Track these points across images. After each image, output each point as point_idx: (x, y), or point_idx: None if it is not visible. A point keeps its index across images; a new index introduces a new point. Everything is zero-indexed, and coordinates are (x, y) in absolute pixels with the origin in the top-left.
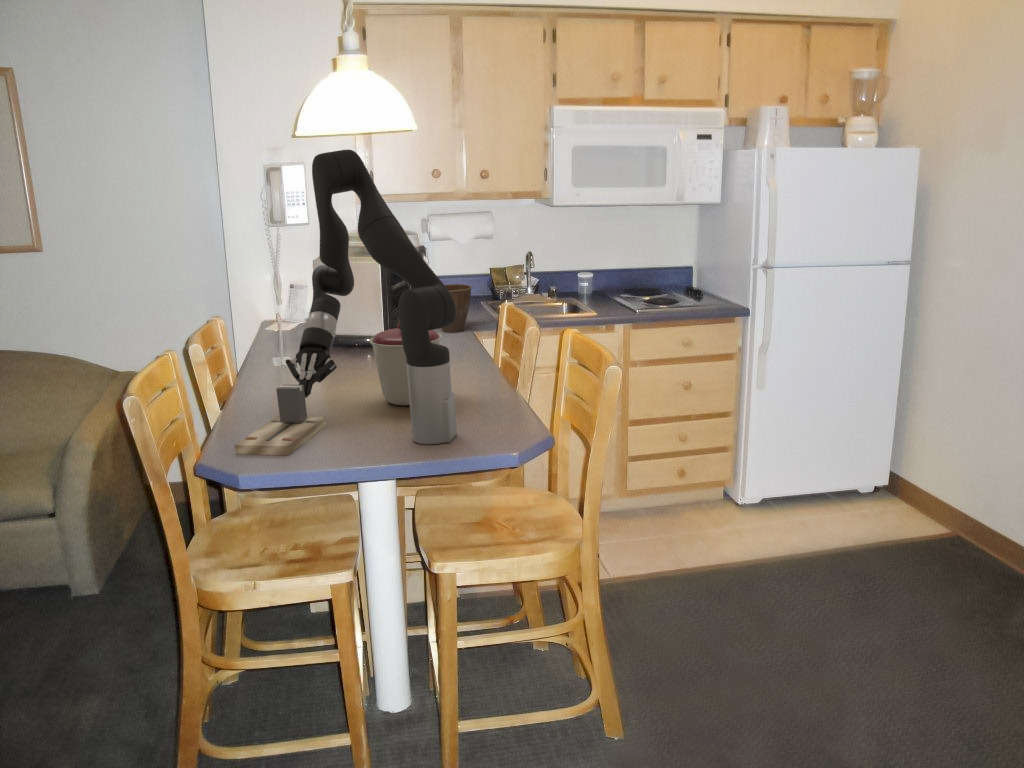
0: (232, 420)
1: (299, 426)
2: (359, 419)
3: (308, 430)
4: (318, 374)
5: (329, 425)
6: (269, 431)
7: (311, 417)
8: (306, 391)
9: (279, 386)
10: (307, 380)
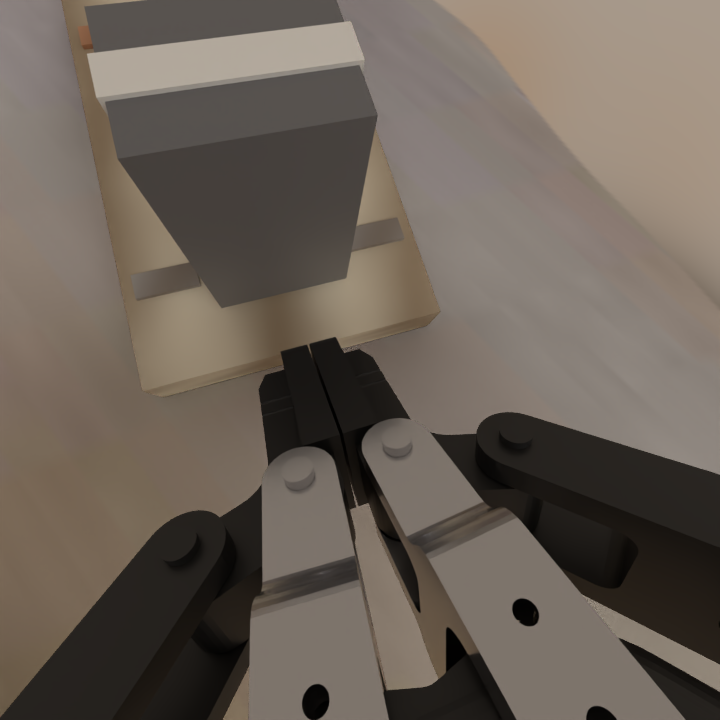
0: (669, 296)
1: None
2: (13, 568)
3: (97, 171)
4: (135, 576)
5: (143, 400)
6: None
7: (228, 353)
8: (275, 379)
9: (348, 32)
10: (303, 447)
